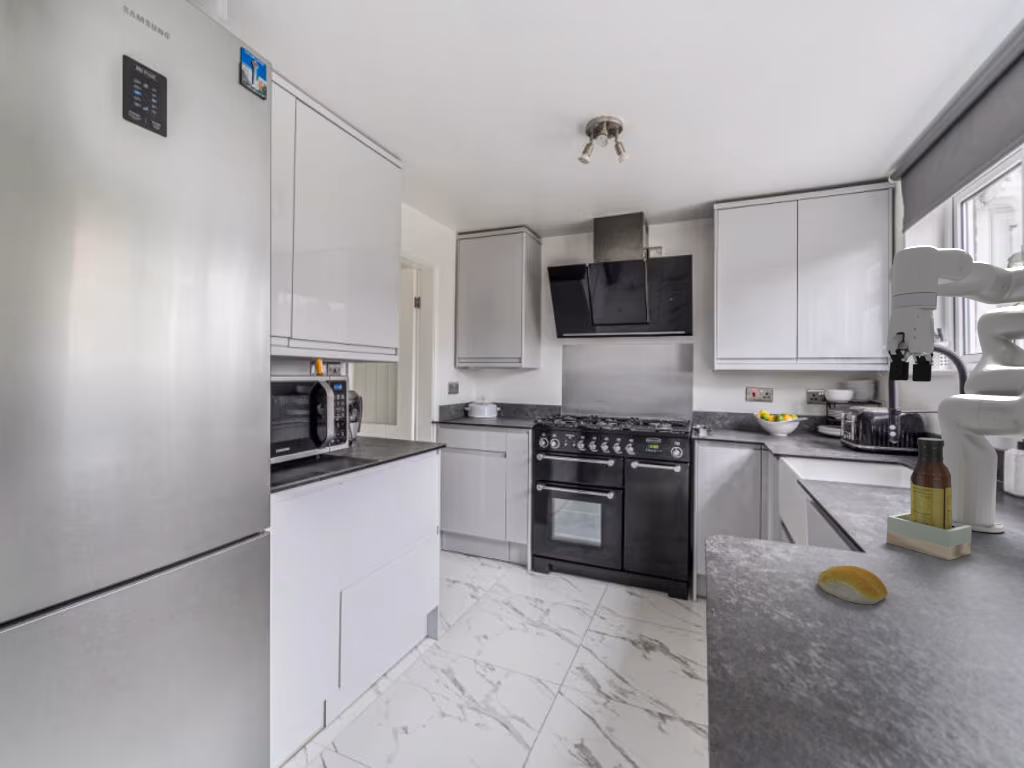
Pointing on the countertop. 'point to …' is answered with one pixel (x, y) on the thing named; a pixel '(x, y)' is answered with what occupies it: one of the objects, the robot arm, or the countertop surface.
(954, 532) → the tray
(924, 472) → the sauce bottle
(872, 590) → the bread roll
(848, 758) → the countertop surface
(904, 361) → the robot arm
